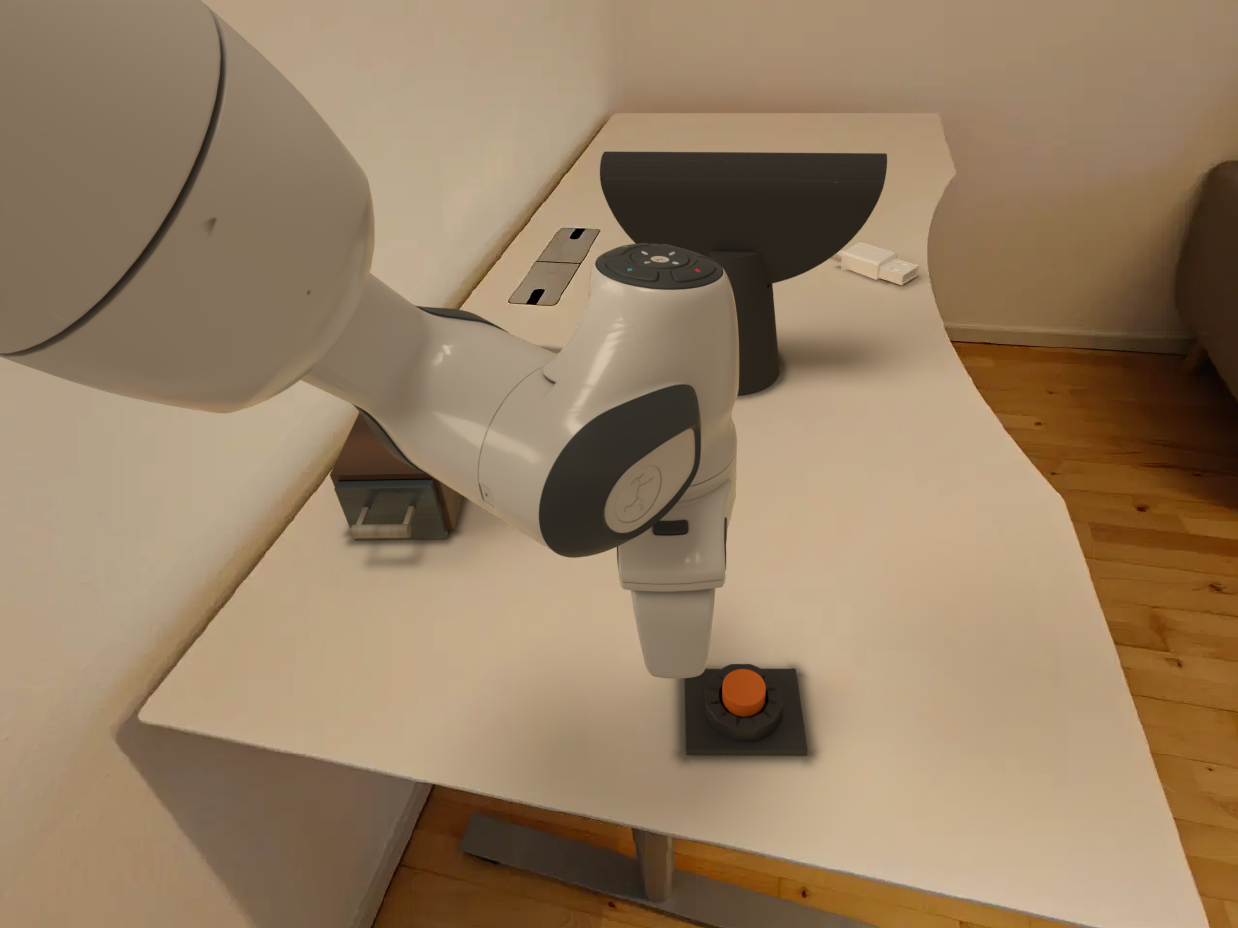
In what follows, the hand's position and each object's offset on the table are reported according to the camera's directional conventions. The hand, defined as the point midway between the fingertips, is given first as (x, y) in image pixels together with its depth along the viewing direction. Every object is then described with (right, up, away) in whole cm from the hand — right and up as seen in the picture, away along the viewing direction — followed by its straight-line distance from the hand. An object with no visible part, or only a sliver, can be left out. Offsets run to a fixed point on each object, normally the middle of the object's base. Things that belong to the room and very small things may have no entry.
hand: (675, 607), depth 63 cm
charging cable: (+30, +45, +72) cm, 90 cm away
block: (+6, -11, +8) cm, 15 cm away
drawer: (-28, +6, +30) cm, 42 cm away
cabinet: (-28, +8, +33) cm, 44 cm away
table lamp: (+6, +25, +51) cm, 57 cm away
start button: (+6, -9, +6) cm, 12 cm away
